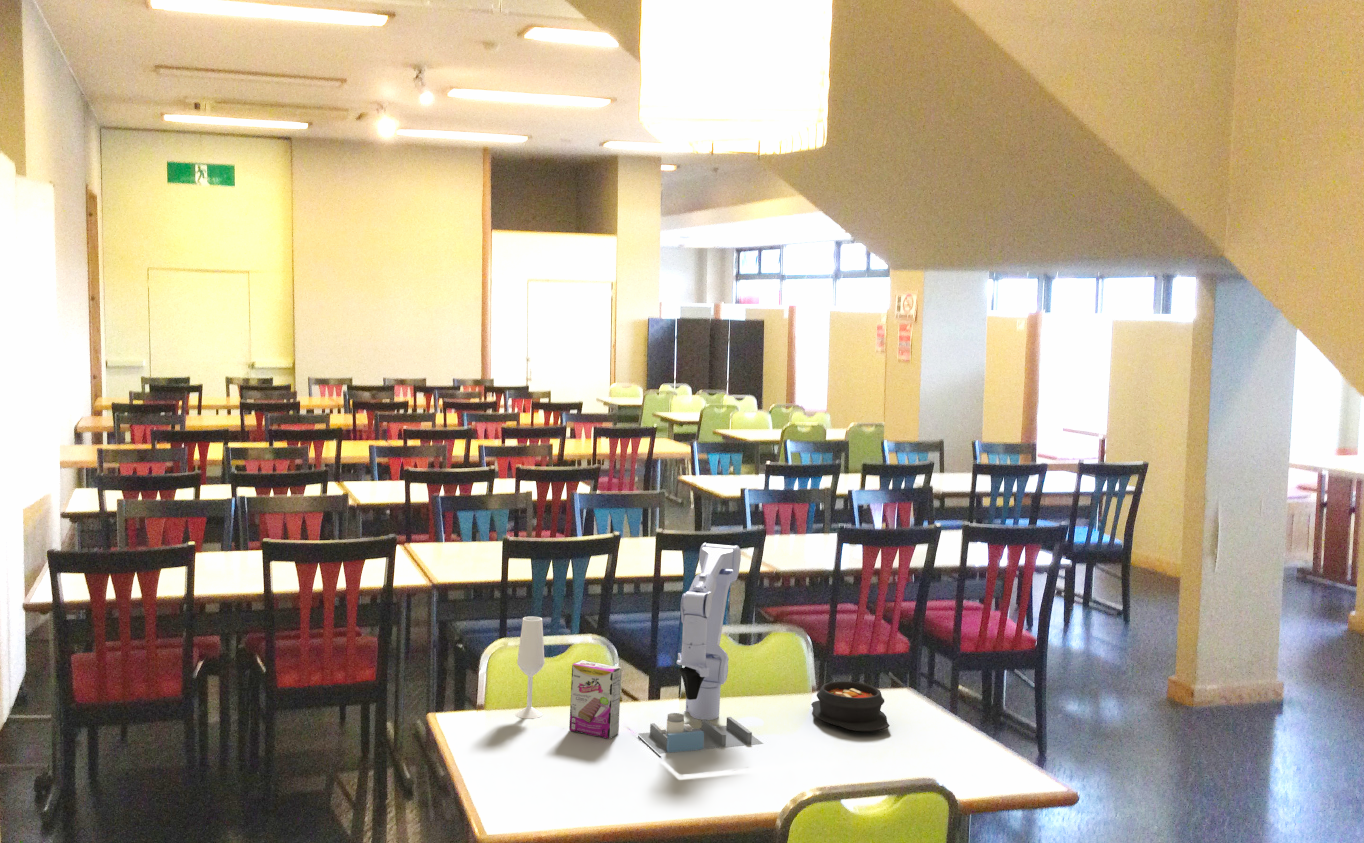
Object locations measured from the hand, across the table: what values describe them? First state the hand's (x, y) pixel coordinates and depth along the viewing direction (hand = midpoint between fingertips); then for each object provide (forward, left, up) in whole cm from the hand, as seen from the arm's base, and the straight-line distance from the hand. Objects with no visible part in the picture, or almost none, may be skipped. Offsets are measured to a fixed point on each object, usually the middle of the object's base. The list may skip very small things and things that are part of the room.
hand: (691, 698), depth 286 cm
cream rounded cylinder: (+4, -6, -8) cm, 11 cm away
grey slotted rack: (+4, +1, -9) cm, 10 cm away
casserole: (-1, +44, -10) cm, 45 cm away
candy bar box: (-9, -21, -10) cm, 25 cm away
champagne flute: (-26, -32, -10) cm, 43 cm away
